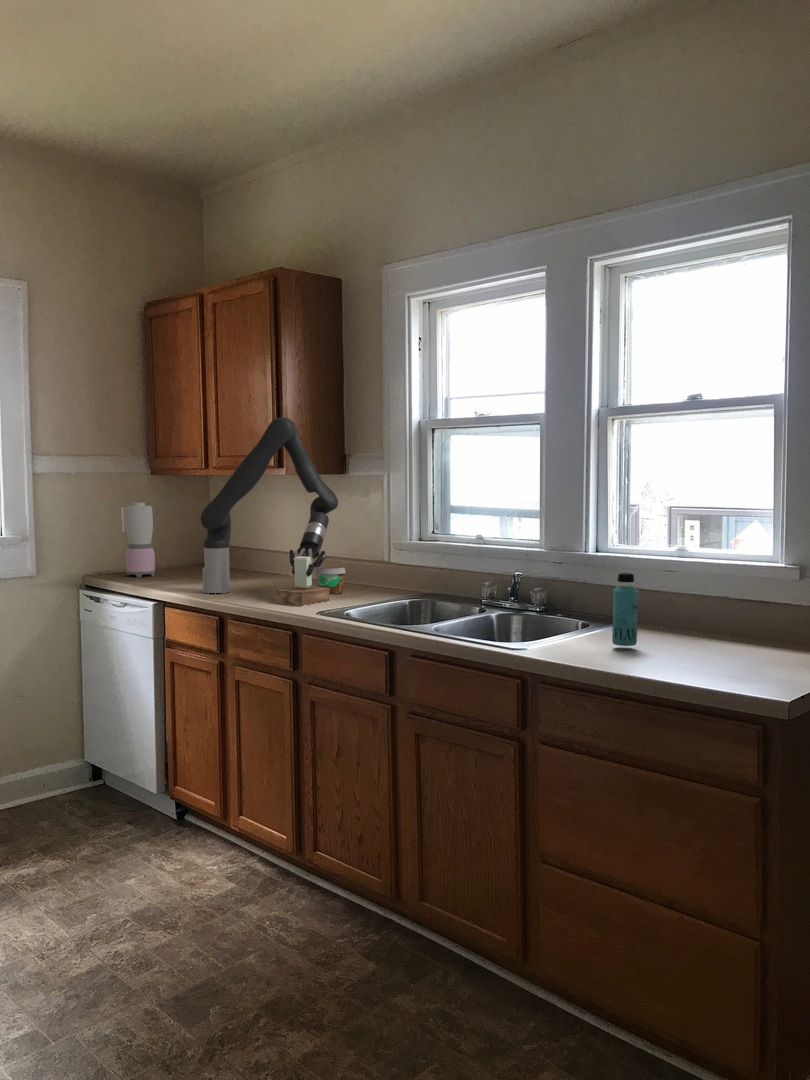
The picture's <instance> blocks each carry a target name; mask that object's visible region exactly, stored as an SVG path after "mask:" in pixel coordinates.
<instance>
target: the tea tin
mask: <svg viewBox="0 0 810 1080" xmlns="http://www.w3.org/2000/svg"><path fill="white" fill-rule="evenodd" d="M310 559H311V557H304V556H301V557H297V556H296V557H295V558H294V571H295V574H294V575H293V577H294V587H308V586H312V585H313V582H312V581H313V580H312V579H313V575H312V574H313V573H312V574H311V575H310V577H308V576H307V574H306V572H307V569H308V566H309V565H310Z"/></svg>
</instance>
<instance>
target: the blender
mask: <svg viewBox="0 0 810 1080" xmlns="http://www.w3.org/2000/svg"><path fill="white" fill-rule="evenodd" d="M153 516H154V515H153V507H152V505H146V503H145V502H133V503H132V505H127V506H125V531H126V537H127V540H128V541H127V542H128V547H127V549H126V551H125V562H126V563H125V565H126V575H127V576H132V575H133V576H134V575H135V576H136V578H142V575H150V577H154V576H155V573H156V560H155V559H156V558H155V557H156V556H155V550H154V548H153V546H152V545H153V544H152V539H153V532H154V531H153V530H154V521H153V520H154V519H153V518H154V517H153Z"/></svg>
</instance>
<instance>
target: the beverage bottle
mask: <svg viewBox="0 0 810 1080" xmlns="http://www.w3.org/2000/svg"><path fill="white" fill-rule="evenodd" d="M634 576H635V575H634V574H633V573H629V572H622V573H618V574H617V582H619V583H634V582H635V577H634ZM638 594H639V591H638V589H637V588H636V587H635V586H633V585H617V586H616V587H615V588H614V589H613V605H612V607H613V608H612V609H613V611H612V633H611V635H612V637H611V641H612V644H613V645H615V646H621V647H632V646H636V645H637V642H638V631H639V630H638V623H639V622H638V613H639V612H638V608H639V603H638Z"/></svg>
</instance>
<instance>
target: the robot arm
mask: <svg viewBox="0 0 810 1080" xmlns="http://www.w3.org/2000/svg"><path fill="white" fill-rule="evenodd" d="M282 446H283V447H284V449H285V450H286V452H287V453H288V455H289V457H290V459H291V462H292V464H293V467H294V470H295V472H296V474H297V477H298V479H299V480H300V482H301V483H302V485H303V487H304V489H305V491H306V492H308V493H309V494H312V493H316V494H317V495H318V496H317V497H316V498H314V499H313V500H312V501H311V504H310V509H309V520H308V521H307V522H308V523H307V525H306V526H305V529H304V533H303V535H302V538H301V541H300V544H299V547H298V548H297V549H296V550H293V549H290V550H289V563H290V565H291V567H292V569H291V573H292V576H294V574H295V571H294V558H295V557H301V556H304V557H311V559H310V565H309V566H308V569H307V572H306V574H307V576H308V577H310V575H311V574H313V572H314V569H316V568H317V567H319V568H321V565H322V564H323V562H325V559H326V558H327V554H326V551H325V550H321V549H322V547H323V543H324V541H325V537H326V533H327V528H328V526H329V521H330V519H329V516H328V514H329V513H330V512H332V511H334V510H336V509H337V508H338V506H339V498H338V497H337V495H336V494H335V493H334V491H333V490H332V489H331V488H330V487H329V486H328V485H327V484H326V482H325V481H324V480H322V478H321V476H320V474H319V472H318V471H317V469H316V467H315V465H314V464H313V462H312V460H311V459H310V458H311V457H310V456H309V454H308V453H307V451H306V449H305V447H304V444H303V443H302V440H301V438H300V435H299V432H298V429H297V426H296V424H295V422H294V421H293V420H292V419H290V418H289V417H288V418H287V417H276V418H274V419H273V420H271V421H270V423H269V425H268V426H267V428H266V429H265V431H264V432H263V434H262V436H261V438H260V440H259V441H258V442H257V443H256V445H254V446H253V448H252V449H251V450H250V451H249V452H248V454H247V455H246V456H245V457H244V459H243V460H242V461H241V462H240V463H239V465H238V466H237V467H236V468H235V470H234V472H233V473H232V474H231V475H230V477H229V478H228V480H227V481H226V483H225V484H224V485H223V486H222V489H220V491H219V492H218V494H217V495H216V496H215V497H214V498H213V499H212V500H211V502H209V503H208V504H207V506H206V507H204V509H203V510H202V511H201V514H200V523H201V525H202V527H203V528H204V529H206V530H207V535H206V537H205V539H204V541H203V550H204V552H203V553H204V554H203V556H204V567H202V593H203V592H204V593H203V594H209V593H215V594H214V595H217V594H216V593H222V594H226V593H227V592H228V593H231V583H230V582H231V580H230V577H231V576H230V541H231V532H232V531H231V530H232V523H231V522H232V519H231V517H232V516H231V513H230V512H231V510H232V509H233V508H234V507H235V506H236V504H237V503H238V502H239V501H240V500H241V499H243V498H245V496H246V495H248V494H249V493H250V492H251V491H252V490H253V489H254V488H255V486H256V485H257V484H258V483H259V481H260V480H261V479H262V477H263V476H264V474H265V473H266V470H268V469H267V468H268V467H269V464H270V462H271V461H272V459H273V457H274V456H275V454H276V453H277V452H278V451H279V449H281V448H282ZM228 593H227V594H228Z"/></svg>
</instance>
